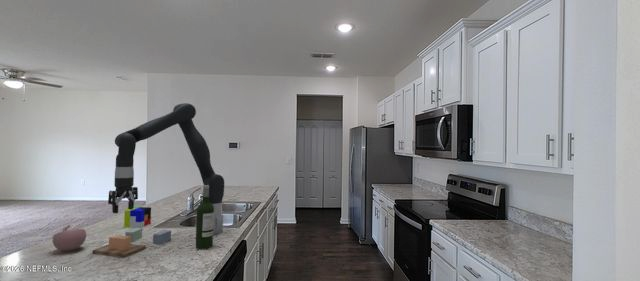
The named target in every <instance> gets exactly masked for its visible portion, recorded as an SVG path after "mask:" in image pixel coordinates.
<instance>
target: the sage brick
mask: <svg viewBox="0 0 640 281" xmlns="http://www.w3.org/2000/svg"><path fill="white" fill-rule="evenodd" d="M124 236H130V237H131V243H134V242H136V241H138V240H139V239H140V240H141V239H142V237H143V227H142V228H132V229H129V230H127V231H125V235H124Z"/></svg>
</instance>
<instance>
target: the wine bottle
mask: <svg viewBox="0 0 640 281" xmlns="http://www.w3.org/2000/svg"><path fill="white" fill-rule="evenodd" d="M202 188H203V190H202V191H203V192H202V201H201V203H200V204H199V205H198V206H197V208H196V220H195V221H196V223H195V248H196V249H198V250H206V249H207V250H208V249H211V248H212V247H213V245H214V243H213V241H214V235H213V220H214V207H213V205H212V204H211V203H210V202H209V185H204V184H203V186H202Z"/></svg>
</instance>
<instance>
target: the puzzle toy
mask: <svg viewBox="0 0 640 281" xmlns="http://www.w3.org/2000/svg"><path fill="white" fill-rule="evenodd" d="M123 217H124V218H123V219H124V220H123V221H124V222H123V227H124V228H132V229H133V228H142V229H143V228H144V227H146V226H148V225H151V220H152V219H151V217H152V207H149V206H134V208H133V209H132V210H129V209H125V210H124V216H123Z"/></svg>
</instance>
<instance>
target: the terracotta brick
mask: <svg viewBox="0 0 640 281" xmlns="http://www.w3.org/2000/svg"><path fill="white" fill-rule="evenodd" d="M131 244H132V242H131V237H130V236H125V235H119V234H115V235H112V236H109V238H108V245H109V248H110V249H118V250H125V249H128V248H130V247H131Z"/></svg>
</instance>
